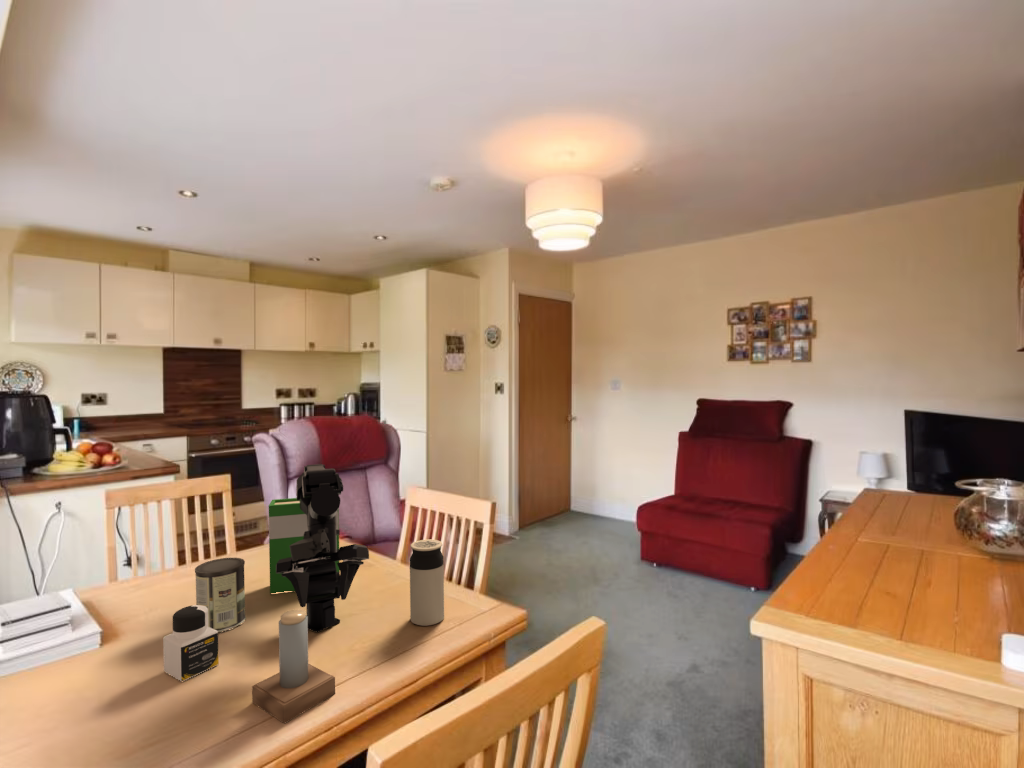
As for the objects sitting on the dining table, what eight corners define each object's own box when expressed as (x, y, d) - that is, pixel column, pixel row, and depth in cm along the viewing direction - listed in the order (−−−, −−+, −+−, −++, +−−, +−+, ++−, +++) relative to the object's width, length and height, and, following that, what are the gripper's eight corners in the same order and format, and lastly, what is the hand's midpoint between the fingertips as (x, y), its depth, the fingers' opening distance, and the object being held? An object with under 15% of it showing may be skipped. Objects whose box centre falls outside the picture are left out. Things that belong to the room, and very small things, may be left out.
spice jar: (273, 686, 93) (272, 618, 92) (291, 671, 97) (290, 607, 97) (296, 690, 91) (295, 621, 91) (314, 675, 96) (313, 609, 96)
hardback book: (339, 576, 152) (338, 494, 152) (339, 586, 145) (338, 500, 145) (273, 584, 147) (272, 499, 147) (270, 595, 140) (268, 505, 140)
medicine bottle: (181, 683, 99) (180, 620, 99) (163, 672, 103) (162, 611, 103) (219, 665, 105) (218, 606, 105) (200, 655, 109) (199, 598, 109)
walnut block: (252, 702, 93) (252, 685, 93) (303, 676, 101) (302, 659, 101) (284, 723, 87) (283, 704, 87) (335, 693, 95) (335, 676, 95)
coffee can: (226, 611, 130) (225, 554, 130) (255, 618, 126) (254, 560, 126) (185, 629, 121) (184, 568, 121) (215, 638, 117) (214, 575, 117)
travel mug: (437, 628, 120) (436, 550, 120) (405, 625, 122) (404, 548, 122) (448, 613, 128) (447, 539, 128) (418, 610, 130) (417, 538, 129)
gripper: (259, 530, 107) (256, 612, 101) (341, 513, 104) (343, 596, 98) (292, 535, 117) (292, 610, 111) (368, 519, 114) (372, 595, 108)
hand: (323, 603), depth 107 cm, fingers open, 9 cm apart
